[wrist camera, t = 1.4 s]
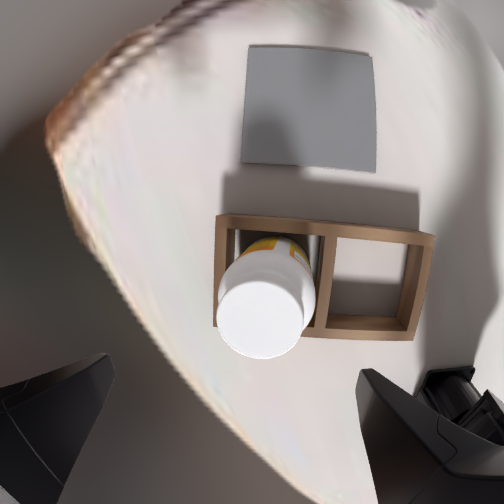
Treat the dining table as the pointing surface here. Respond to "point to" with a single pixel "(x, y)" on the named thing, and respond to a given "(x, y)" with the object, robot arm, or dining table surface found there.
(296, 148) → the coaster
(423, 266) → the brown two-compartment frame
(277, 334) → the supplement bottle
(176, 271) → the dining table surface
